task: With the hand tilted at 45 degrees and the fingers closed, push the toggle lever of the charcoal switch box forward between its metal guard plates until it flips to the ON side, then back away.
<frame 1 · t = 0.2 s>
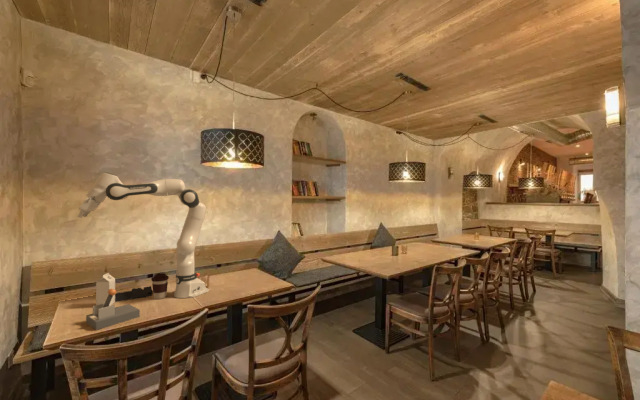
hand: (81, 216, 172), 54 cm above the table, tool tilted 30°, fingers open, 8 cm apart
milk carton: (105, 305, 179), on the table
toggle lever: (108, 301, 156), point 11 cm above the table, hinge at -22.0°
dark slate chunk: (133, 296, 195), on the table
coffee cup: (160, 297, 193), on the table
switch box: (113, 319, 158), on the table
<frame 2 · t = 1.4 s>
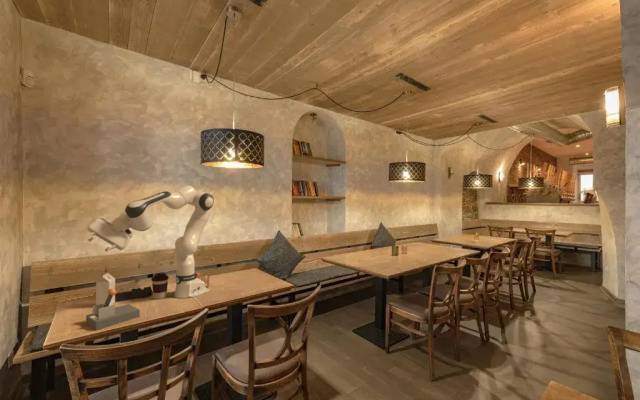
hand: (97, 245, 152), 41 cm above the table, tool tilted 55°, fingers open, 8 cm apart
nothing on the table moved.
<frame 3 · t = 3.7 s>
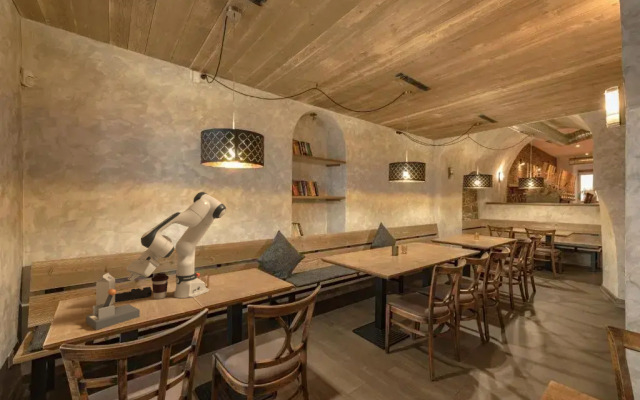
hand: (129, 280, 162), 20 cm above the table, tool tilted 45°, fingers closed
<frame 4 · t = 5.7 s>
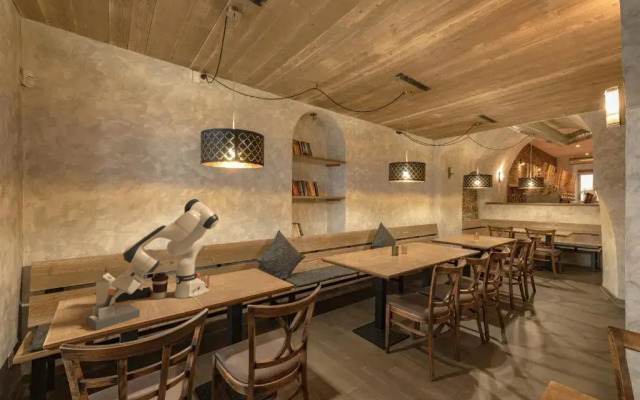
hand: (113, 297, 157), 12 cm above the table, tool tilted 45°, fingers closed, pressing on toggle lever
toggle lever: (108, 301, 156), point 11 cm above the table, hinge at -21.5°, touching gripper
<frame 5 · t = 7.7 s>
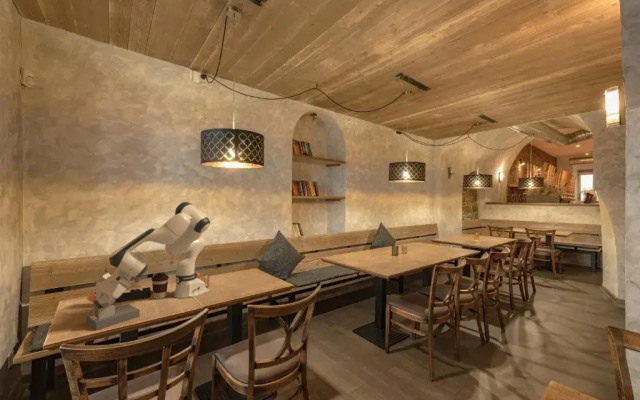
hand: (98, 302, 152), 12 cm above the table, tool tilted 45°, fingers closed, pressing on toggle lever
toggle lever: (97, 304, 152), point 10 cm above the table, hinge at 31.3°, touching gripper
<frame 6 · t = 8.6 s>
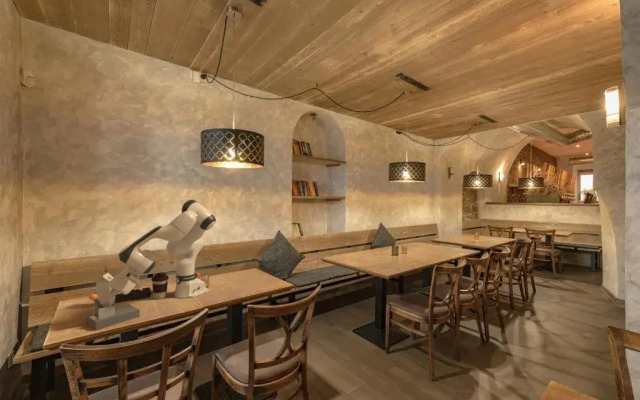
hand: (108, 297, 157), 12 cm above the table, tool tilted 45°, fingers closed
toggle lever: (98, 303, 152), point 11 cm above the table, hinge at 26.9°
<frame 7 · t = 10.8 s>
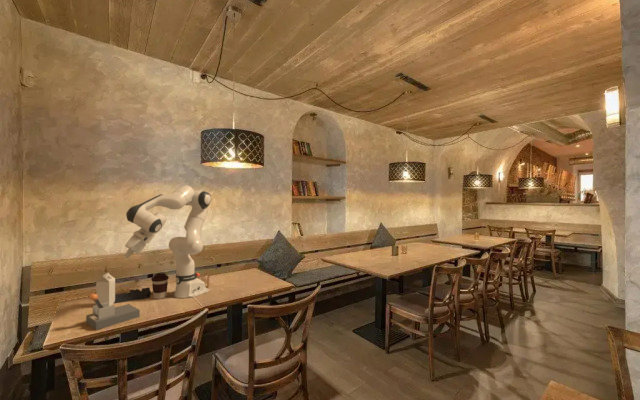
hand: (125, 257, 167), 32 cm above the table, tool tilted 40°, fingers closed
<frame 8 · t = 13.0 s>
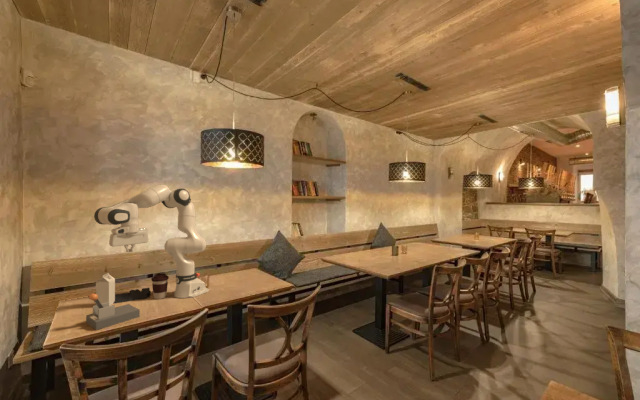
hand: (129, 252, 175), 33 cm above the table, tool pointing down, fingers closed
at the end: toggle lever at +27° (first picture: -22°); milk carton moved 0.3 cm from its start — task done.
